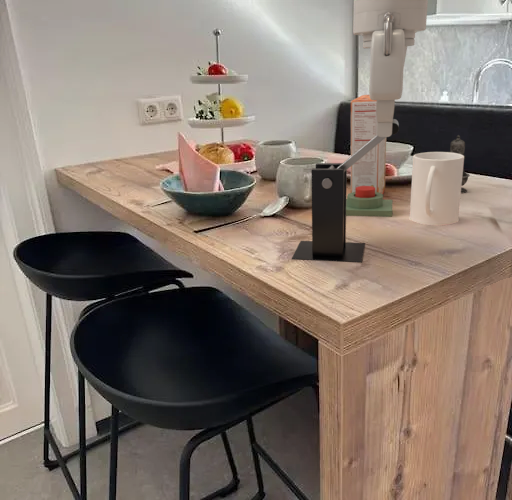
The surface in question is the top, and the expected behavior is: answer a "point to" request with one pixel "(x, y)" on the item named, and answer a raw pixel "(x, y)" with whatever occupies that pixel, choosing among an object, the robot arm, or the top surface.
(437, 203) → the mug
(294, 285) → the top surface
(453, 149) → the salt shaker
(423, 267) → the top surface
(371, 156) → the cracker box
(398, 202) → the top surface
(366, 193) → the button
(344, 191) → the lever bracket
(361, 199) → the button block
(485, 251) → the top surface
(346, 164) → the press lever
